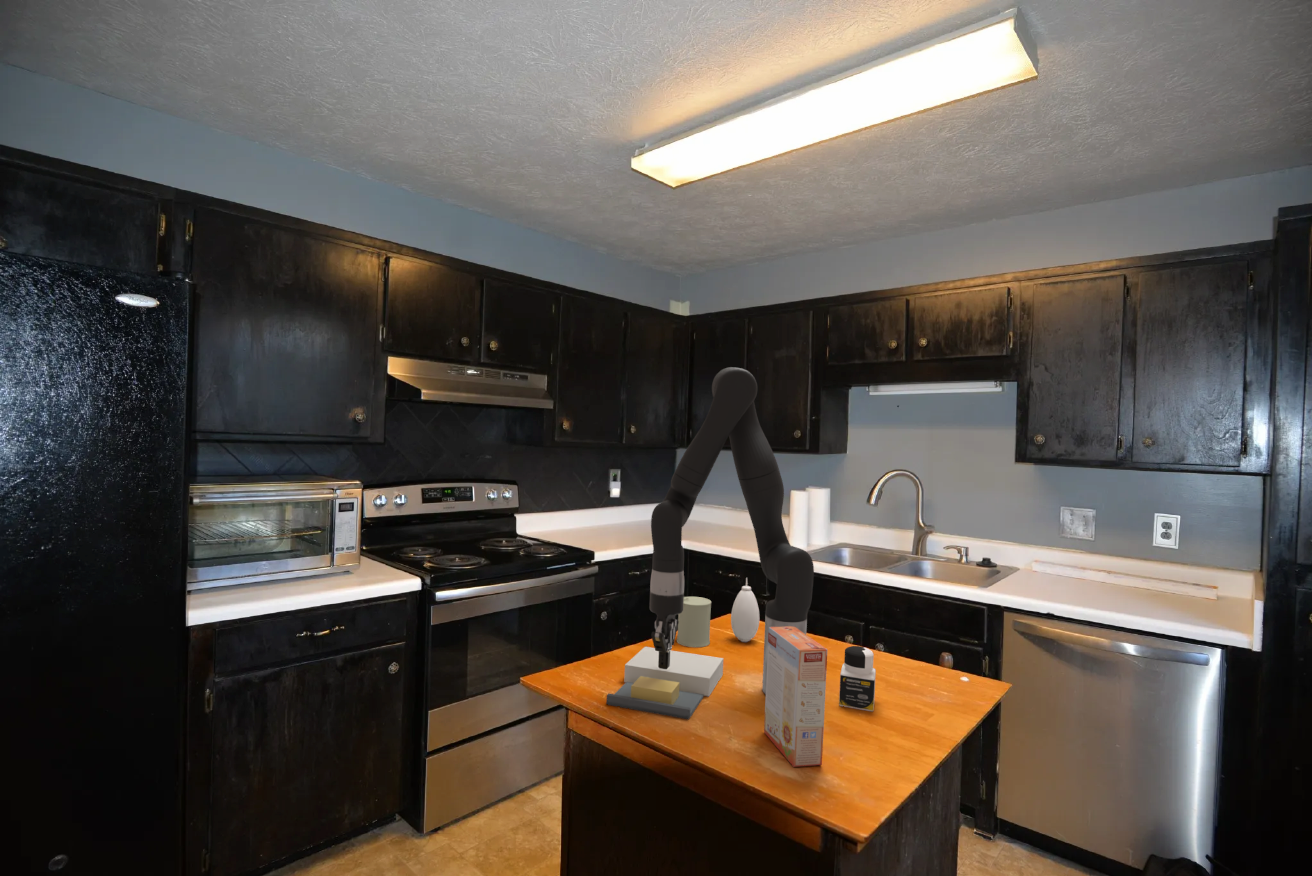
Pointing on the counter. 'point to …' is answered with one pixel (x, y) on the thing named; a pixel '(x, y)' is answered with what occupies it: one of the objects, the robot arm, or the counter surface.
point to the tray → (656, 703)
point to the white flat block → (677, 670)
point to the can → (694, 622)
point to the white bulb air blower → (745, 615)
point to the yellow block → (655, 690)
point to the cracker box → (795, 695)
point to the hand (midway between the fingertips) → (663, 667)
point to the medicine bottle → (857, 679)
